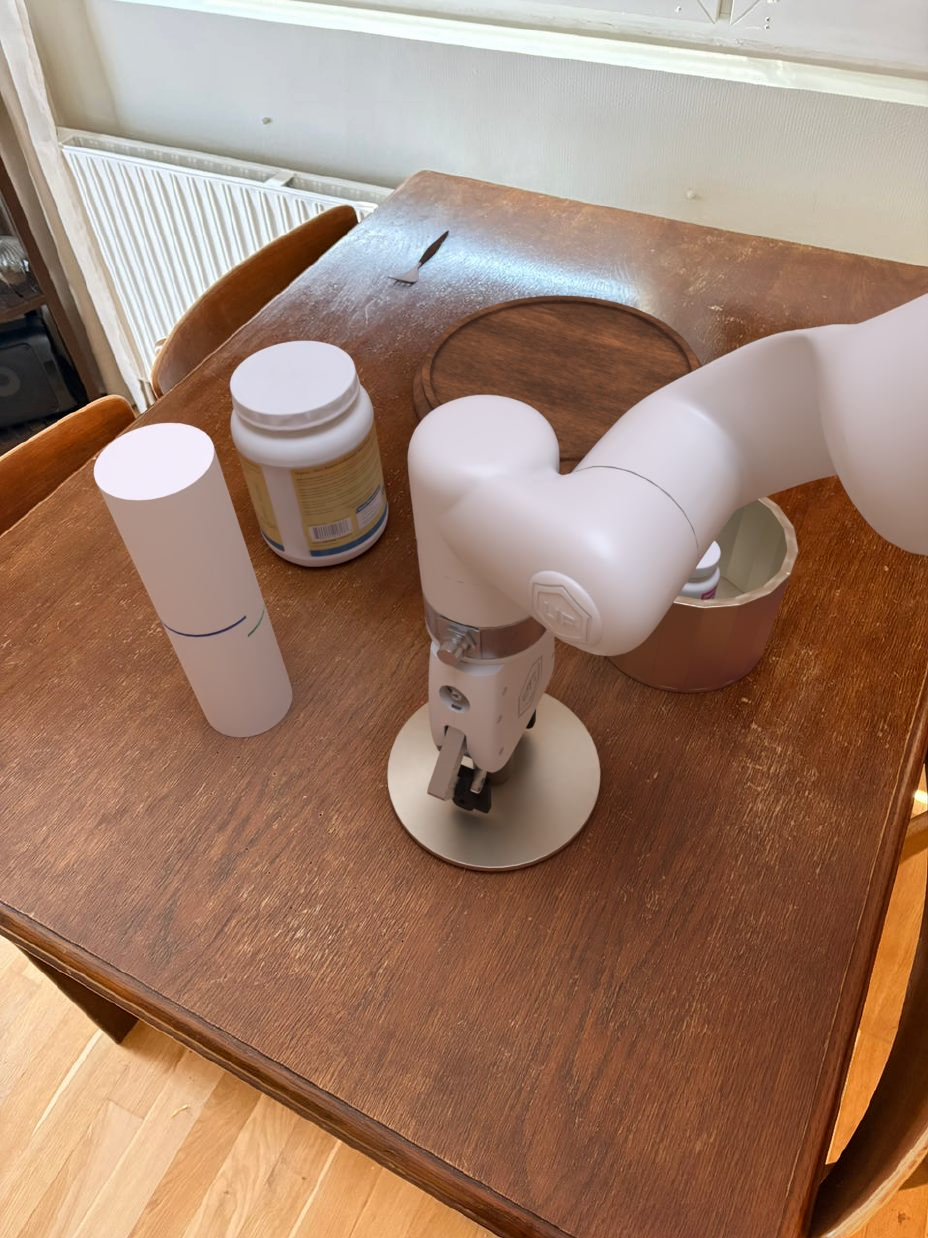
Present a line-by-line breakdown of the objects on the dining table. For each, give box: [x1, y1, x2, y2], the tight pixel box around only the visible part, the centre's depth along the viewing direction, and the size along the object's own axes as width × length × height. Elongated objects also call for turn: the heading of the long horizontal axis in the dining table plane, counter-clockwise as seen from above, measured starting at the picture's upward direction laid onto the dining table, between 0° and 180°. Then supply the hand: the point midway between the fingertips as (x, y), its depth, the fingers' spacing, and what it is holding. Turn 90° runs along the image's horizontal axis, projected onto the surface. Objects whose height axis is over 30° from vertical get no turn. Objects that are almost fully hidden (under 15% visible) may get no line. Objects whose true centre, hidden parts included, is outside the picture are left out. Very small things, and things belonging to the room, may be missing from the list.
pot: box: [605, 496, 799, 694], centre depth 72 cm, size 15×15×10 cm
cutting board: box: [412, 294, 704, 475], centre depth 97 cm, size 32×32×2 cm
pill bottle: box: [679, 541, 721, 600], centre depth 72 cm, size 5×5×8 cm
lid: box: [386, 692, 602, 872], centre depth 65 cm, size 16×16×7 cm
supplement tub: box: [229, 340, 389, 568], centre depth 79 cm, size 12×12×17 cm
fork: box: [387, 230, 450, 283], centre depth 117 cm, size 3×16×2 cm, turn 156°
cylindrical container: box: [93, 422, 294, 738], centre depth 63 cm, size 7×7×25 cm
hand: (492, 759), depth 65 cm, fingers open, 7 cm apart
